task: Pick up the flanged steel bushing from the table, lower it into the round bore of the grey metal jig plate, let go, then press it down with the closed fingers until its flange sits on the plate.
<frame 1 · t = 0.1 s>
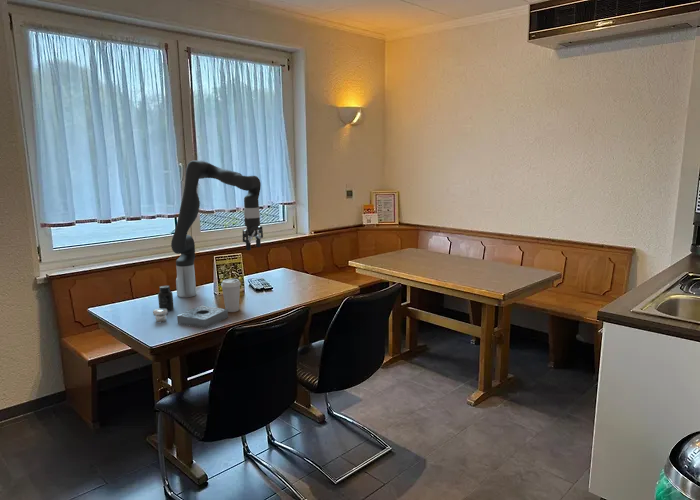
hand: (253, 248, 249), 29 cm above the table, tool pointing down, fingers open, 8 cm apart
coffee cup: (232, 310, 246), on the table
supplement bottle: (166, 310, 247), on the table
bushing: (161, 321, 231), on the table
jig: (203, 320, 231), on the table
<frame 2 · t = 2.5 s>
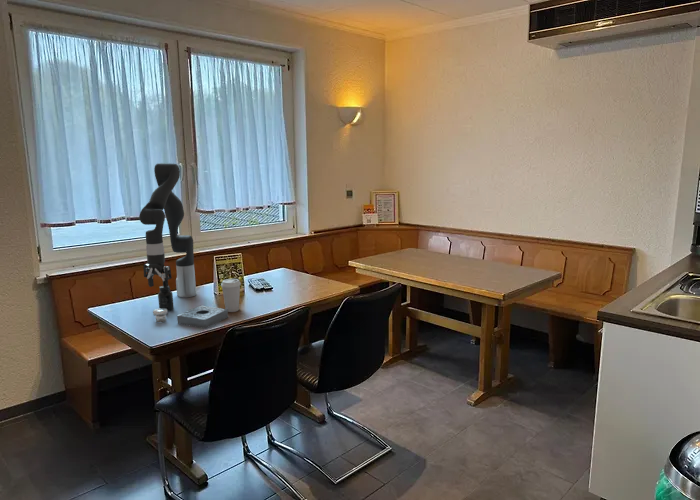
hand: (158, 287, 228), 16 cm above the table, tool pointing down, fingers open, 8 cm apart
nothing on the table moved.
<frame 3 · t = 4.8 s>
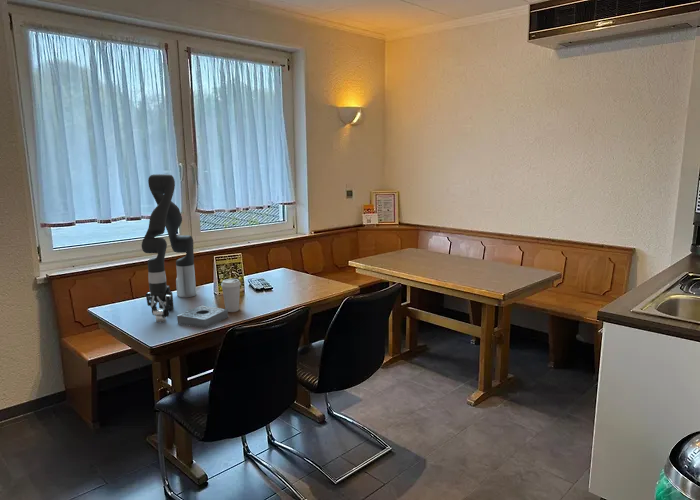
hand: (160, 315, 230), 3 cm above the table, tool pointing down, fingers closed on bushing, 6 cm apart
bushing: (161, 321, 231), on the table, touching gripper
everything else where it was.
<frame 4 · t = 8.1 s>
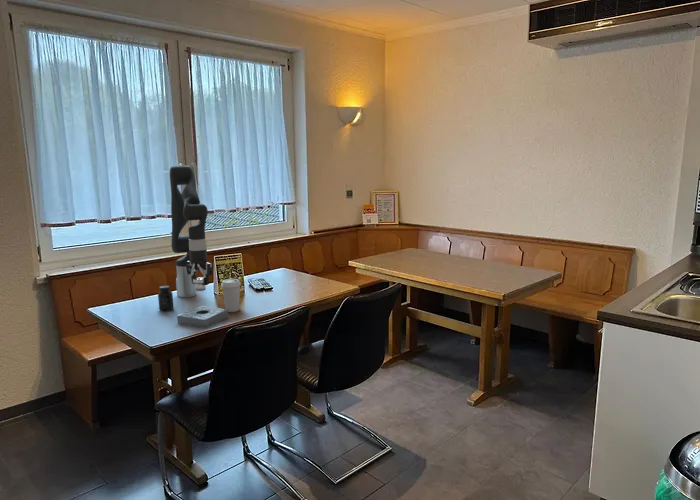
hand: (200, 284, 227), 18 cm above the table, tool pointing down, fingers closed on bushing, 6 cm apart
bushing: (200, 289, 228), point 15 cm above the table, touching gripper
everything else where it was.
when the fingers open (5 cm above the table, at t = 11.4 s): bushing drops 1 cm, resting on jig.
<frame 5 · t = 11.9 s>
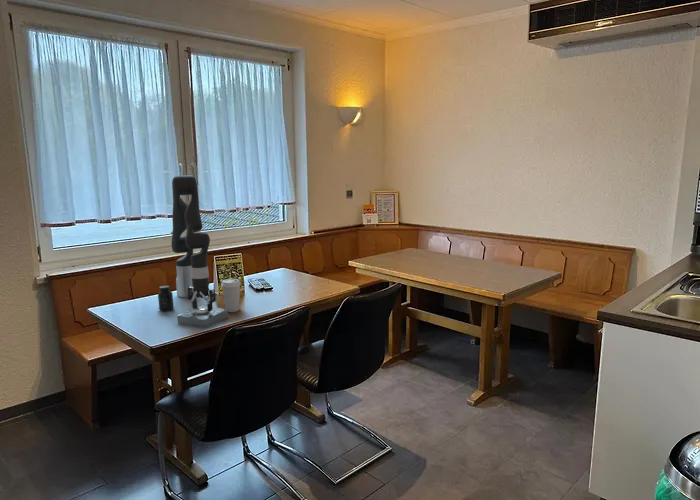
hand: (202, 309, 230), 5 cm above the table, tool pointing down, fingers open, 8 cm apart
bushing: (203, 319, 231), resting on jig
everything else where it was.
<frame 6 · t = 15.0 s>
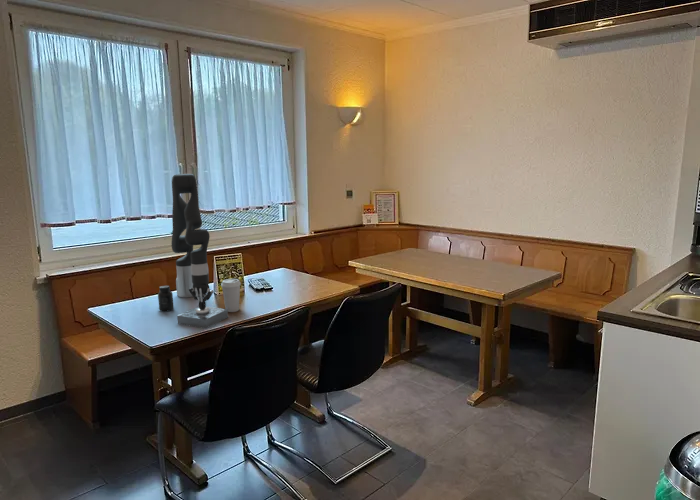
hand: (202, 309, 230), 6 cm above the table, tool pointing down, fingers closed
bushing: (203, 319, 231), resting on jig, touching gripper
everything else where it was.
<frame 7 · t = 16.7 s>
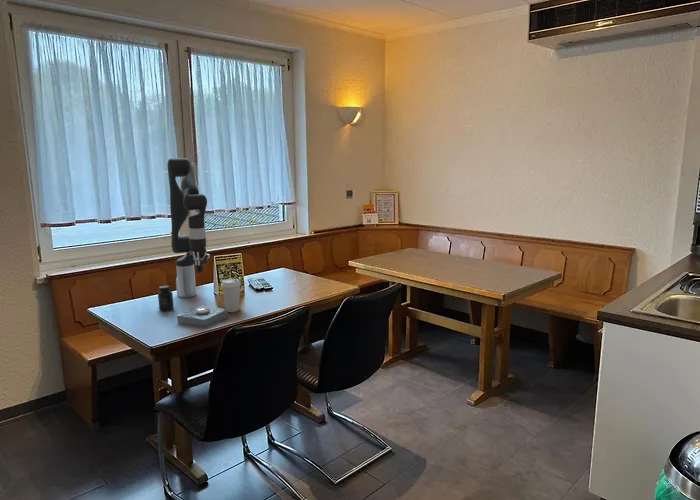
hand: (199, 272, 237), 21 cm above the table, tool pointing down, fingers closed
bushing: (203, 319, 231), resting on jig
everything else where it was.
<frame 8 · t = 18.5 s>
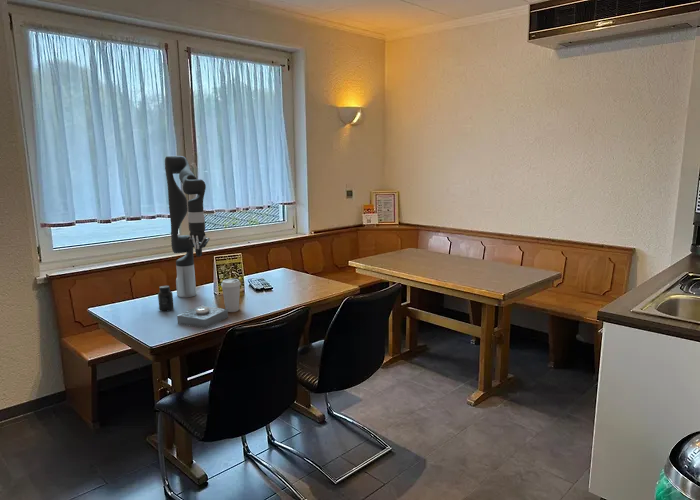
hand: (199, 256, 243), 27 cm above the table, tool pointing down, fingers closed
nothing on the table moved.
at the end: bushing 0.0 cm off-centre on the jig, point 0.4 cm above the jig's base; bushing tilted 0°; the gripper is holding nothing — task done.
